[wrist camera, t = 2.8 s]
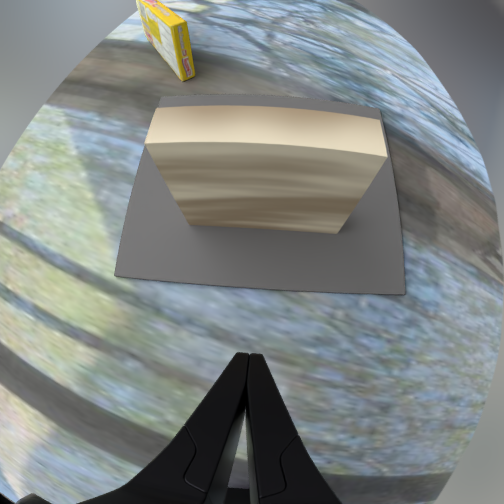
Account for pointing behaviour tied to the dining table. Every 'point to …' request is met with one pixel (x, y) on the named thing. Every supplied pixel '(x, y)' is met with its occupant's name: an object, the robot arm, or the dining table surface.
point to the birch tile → (265, 164)
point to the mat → (264, 230)
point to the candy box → (168, 36)
